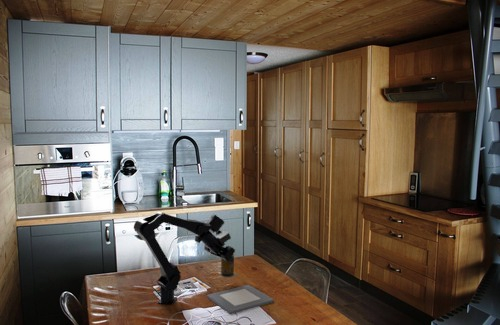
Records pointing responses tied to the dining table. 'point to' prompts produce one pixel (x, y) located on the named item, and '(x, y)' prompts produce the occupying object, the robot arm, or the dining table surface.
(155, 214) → the robot arm
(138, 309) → the dining table surface
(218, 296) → the grey square board
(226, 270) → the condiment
